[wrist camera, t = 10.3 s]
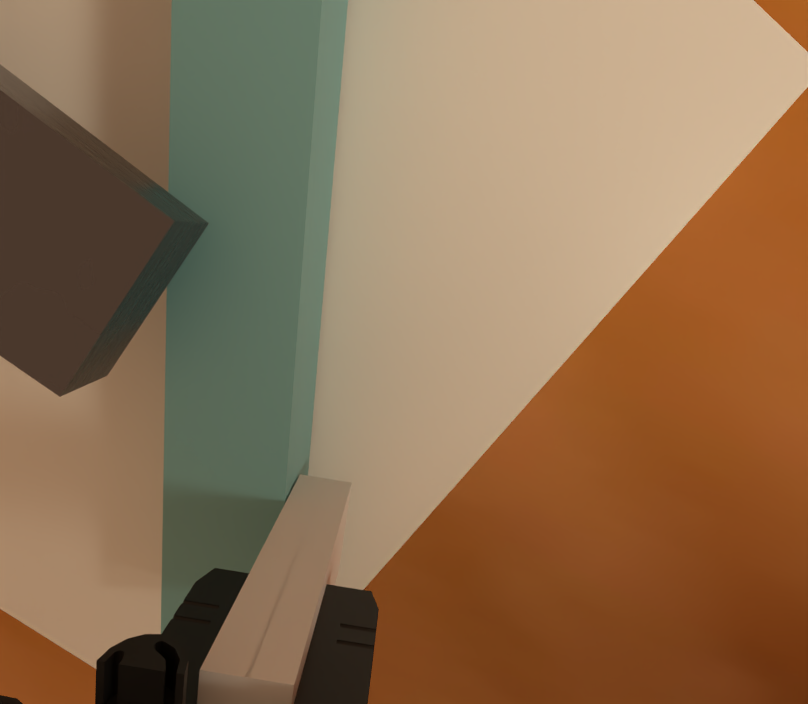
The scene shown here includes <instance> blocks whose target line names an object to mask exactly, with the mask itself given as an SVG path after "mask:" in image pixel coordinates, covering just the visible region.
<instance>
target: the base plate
mask: <svg viewBox="0 0 808 704" xmlns="http://www.w3.org/2000/svg"><path fill="white" fill-rule="evenodd" d="M171 7H172V0H0V64H1V65H2V66H3V67H5V68H6V69H7V70H8V71H10V72H11V73H12V74H14V75H15V76H16V77H18V78H19V79H20V80H22V81H23V82H24V83H26V84H27V85H28V86H29V87H31V88H32V89H33V90H35V91H36V92H37V93H39V94H40V95H41V96H43V97H44V98H45V99H47V100H48V101H49V102H50V103H52V104H53V105H54V106H56V107H57V108H58V109H60V110H61V111H62V112H64V113H65V114H66V115H68V116H69V117H70V118H71V119H73V120H74V121H75V122H77V123H78V124H79V125H81V126H82V127H83V128H85V129H86V130H87V131H89V132H90V133H91V134H92V135H94V136H95V137H96V138H98V139H99V140H100V141H102V142H103V143H104V144H106V145H107V146H108V147H110V148H111V149H112V150H114V151H115V152H116V153H117V154H119V155H120V156H121V157H123V158H124V159H125V160H127V161H128V162H129V163H131V164H132V165H133V166H135V167H136V168H137V169H138V170H140V171H141V172H142V173H144V174H145V175H146V176H148V177H149V178H150V179H152V180H153V181H154V182H156V183H157V184H158V185H159V186H161V187H162V188H163V189H165V190H166V191H167V192H168V182H169V124H170V65H171ZM807 87H808V52H807V51H806V50H805V49H804V48H803V47H802V46H801V45H800V44H799V43H798V42H797V41H795V40H794V39H793V38H792V37H791V36H790V35H789V34H788V33H787V32H786V31H785V30H784V29H783V28H782V27H781V26H780V25H779V24H778V23H777V22H776V21H774V20H773V19H772V18H771V17H770V16H769V15H768V14H767V13H766V12H765V11H764V10H763V9H762V8H761V7H760V6H759V5H758V4H757V3H756V2H755V1H754V0H348V7H347V19H346V30H345V42H344V54H343V66H342V78H341V90H340V102H339V113H338V125H337V137H336V149H335V161H334V173H333V185H332V196H331V208H330V220H329V232H328V244H327V256H326V267H325V279H324V291H323V303H322V315H321V327H320V339H319V350H318V362H317V374H316V386H315V398H314V410H313V422H312V433H311V445H310V457H309V469H308V476H313V477H319V478H326V479H332V480H338V481H344V482H351V483H352V485H351V492H350V499H349V505H348V512H347V519H346V526H345V533H344V539H343V546H342V553H341V560H340V567H339V572H338V576H337V579H336V583H335V586H341V587H347V588H354V589H360V590H364V588H365V587H366V586H367V585H368V584H369V583H370V582H371V581H372V579H373V578H374V577H375V576H376V575H377V574H378V573H379V571H380V570H381V569H382V568H383V567H384V566H385V565H386V564H387V562H388V561H389V560H390V559H391V558H392V557H393V556H394V554H395V553H396V552H397V551H398V550H399V549H400V548H401V547H402V545H403V544H404V543H405V542H406V541H407V540H408V539H409V538H410V536H411V535H412V534H413V533H414V532H415V531H416V530H417V528H418V527H419V526H420V525H421V524H422V523H423V522H424V521H425V519H426V518H427V517H428V516H429V515H430V514H431V513H432V511H433V510H434V509H435V508H436V507H437V506H438V505H439V504H440V502H441V501H442V500H443V499H444V498H445V497H446V496H447V494H448V493H449V492H450V491H451V490H452V489H453V488H454V487H455V485H456V484H457V483H458V482H459V481H460V480H461V479H462V478H463V476H464V475H465V474H466V473H467V472H468V471H469V470H470V468H471V467H472V466H473V465H474V464H475V463H476V462H477V461H478V459H479V458H480V457H481V456H482V455H483V454H484V453H485V451H486V450H487V449H488V448H489V447H490V446H491V445H492V444H493V442H494V441H495V440H496V439H497V438H498V437H499V436H500V434H501V433H502V432H503V431H504V430H505V429H506V428H507V427H508V425H509V424H510V423H511V422H512V421H513V420H514V419H515V418H516V416H517V415H518V414H519V413H520V412H521V411H522V410H523V408H524V407H525V406H526V405H527V404H528V403H529V402H530V401H531V399H532V398H533V397H534V396H535V395H536V394H537V393H538V391H539V390H540V389H541V388H542V387H543V386H544V385H545V384H546V382H547V381H548V380H549V379H550V378H551V377H552V376H553V374H554V373H555V372H556V371H557V370H558V369H559V368H560V367H561V365H562V364H563V363H564V362H565V361H566V360H567V359H568V358H569V356H570V355H571V354H572V353H573V352H574V351H575V350H576V348H577V347H578V346H579V345H580V344H581V343H582V342H583V341H584V339H585V338H586V337H587V336H588V335H589V334H590V333H591V331H592V330H593V329H594V328H595V327H596V326H597V325H598V324H599V322H600V321H601V320H602V319H603V318H604V317H605V316H606V314H607V313H608V312H609V311H610V310H611V309H612V308H613V307H614V305H615V304H616V303H617V302H618V301H619V300H620V299H621V298H622V296H623V295H624V294H625V293H626V292H627V291H628V290H629V288H630V287H631V286H632V285H633V284H634V283H635V282H636V281H637V279H638V278H639V277H640V276H641V275H642V274H643V273H644V271H645V270H646V269H647V268H648V267H649V266H650V265H651V264H652V262H653V261H654V260H655V259H656V258H657V257H658V256H659V254H660V253H661V252H662V251H663V250H664V249H665V248H666V247H667V245H668V244H669V243H670V242H671V241H672V240H673V239H674V238H675V236H676V235H677V234H678V233H679V232H680V231H681V230H682V228H683V227H684V226H685V225H686V224H687V223H688V222H689V221H690V219H691V218H692V217H693V216H694V215H695V214H696V213H697V211H698V210H699V209H700V208H701V207H702V206H703V205H704V204H705V202H706V201H707V200H708V199H709V198H710V197H711V196H712V194H713V193H714V192H715V191H716V190H717V189H718V188H719V187H720V185H721V184H722V183H723V182H724V181H725V180H726V179H727V178H728V176H729V175H730V174H731V173H732V172H733V171H734V170H735V168H736V167H737V166H738V165H739V164H740V163H741V162H742V161H743V159H744V158H745V157H746V156H747V155H748V154H749V153H750V151H751V150H752V149H753V148H754V147H755V146H756V145H757V144H758V142H759V141H760V140H761V139H762V138H763V137H764V136H765V134H766V133H767V132H768V131H769V130H770V129H771V128H772V127H773V125H774V124H775V123H776V122H777V121H778V120H779V119H780V118H781V116H782V115H783V114H784V113H785V112H786V111H787V110H788V108H789V107H790V106H791V105H792V104H793V103H794V102H795V101H796V99H797V98H798V97H799V96H800V95H801V94H802V93H803V91H804V90H805V89H806V88H807ZM166 298H167V287H166V289H165V290H164V292H163V293H162V295H161V296H160V298H159V299H158V301H157V302H156V304H155V305H154V307H153V308H152V310H151V311H150V313H149V314H148V316H147V317H146V319H145V320H144V322H143V323H142V325H141V326H140V328H139V329H138V331H137V332H136V334H135V335H134V337H133V338H132V340H131V341H130V343H129V344H128V346H127V347H126V349H125V350H124V352H123V353H122V355H121V356H120V358H119V359H118V361H117V362H116V364H115V365H114V367H113V368H112V370H111V371H110V372H109V374H108V375H107V376H105V377H103V378H101V379H99V380H96V381H94V382H92V383H90V384H88V385H85V386H83V387H81V388H79V389H76V390H74V391H72V392H70V393H67V394H65V395H63V396H61V397H59V396H58V395H56V394H55V393H53V392H52V391H51V390H49V389H48V388H46V387H45V386H43V385H42V384H40V383H39V382H38V381H36V380H35V379H33V378H32V377H30V376H29V375H27V374H26V373H24V372H23V371H22V370H20V369H19V368H17V367H16V366H14V365H13V364H11V363H10V362H9V361H7V360H6V359H4V358H3V357H1V356H0V609H1V610H3V611H4V612H6V613H8V614H9V615H11V616H12V617H14V618H15V619H17V620H19V621H20V622H22V623H23V624H25V625H27V626H28V627H30V628H31V629H33V630H35V631H36V632H38V633H39V634H41V635H43V636H44V637H46V638H47V639H49V640H51V641H52V642H54V643H55V644H57V645H59V646H60V647H62V648H63V649H65V650H66V651H68V652H70V653H71V654H73V655H74V656H76V657H78V658H79V659H81V660H82V661H84V662H86V663H87V664H89V665H90V666H92V667H94V668H95V669H96V662H97V660H98V659H99V658H100V657H101V656H102V655H103V654H104V653H105V652H106V651H107V650H108V649H109V648H111V647H112V646H114V645H116V644H118V643H120V642H122V641H124V640H125V639H128V638H132V637H136V636H139V635H143V634H161V588H162V530H163V472H164V414H165V356H166Z"/></svg>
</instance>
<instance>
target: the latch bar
mask: <svg viewBox="0 0 808 704" xmlns="http://www.w3.org/2000/svg"><path fill="white" fill-rule="evenodd" d="M347 7H348V0H172V7H171V65H170V124H169V182H168V192H169V193H170V194H171V195H173V196H174V197H175V198H177V199H178V200H179V201H180V202H182V203H183V204H184V205H186V206H187V207H188V208H190V209H191V210H192V211H194V212H195V213H196V214H198V215H199V216H200V217H201V218H203V219H204V220H205V221H207V222H208V223H209V224H208V226H207V227H206V229H205V230H204V232H203V233H202V235H201V236H200V238H199V239H198V241H197V242H196V244H195V245H194V247H193V248H192V250H191V251H190V253H189V254H188V256H187V257H186V259H185V260H184V262H183V263H182V265H181V266H180V268H179V269H178V271H177V272H176V274H175V275H174V277H173V278H172V280H171V281H170V283H169V284H168V286H167V298H166V356H165V414H164V472H163V530H162V588H161V634H162V632H163V631H164V629H165V628H166V626H167V625H168V623H169V622H170V620H171V619H173V617H174V614H175V612H176V611H177V609H178V608H179V606H180V605H181V603H182V604H183V601H184V599H185V597H186V596H187V594H188V593H189V591H190V590H191V588H192V586H193V585H194V583H195V582H196V581H197V580H199V579H200V578H202V577H203V576H204V575H206V574H207V573H208V572H210V571H211V570H213V569H214V568H219V569H225V570H232V571H238V572H244V573H250V571H251V569H252V567H253V565H254V563H255V561H256V559H257V557H258V555H259V553H260V551H261V549H262V548H263V546H264V544H265V542H266V540H267V538H268V536H269V534H270V532H271V530H272V528H273V526H274V524H275V522H276V520H277V518H278V516H279V514H280V512H281V511H282V509H283V507H284V505H285V503H286V501H287V499H288V497H289V495H290V493H291V491H292V489H293V487H294V485H295V483H296V481H297V479H298V477H299V475H300V474H301V475H307V476H308V469H309V457H310V445H311V433H312V422H313V410H314V398H315V386H316V374H317V362H318V350H319V339H320V327H321V315H322V303H323V291H324V279H325V267H326V256H327V244H328V232H329V220H330V208H331V196H332V185H333V173H334V161H335V149H336V137H337V125H338V113H339V102H340V90H341V78H342V66H343V54H344V42H345V30H346V19H347Z"/></svg>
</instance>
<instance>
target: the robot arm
mask: <svg viewBox="0 0 808 704" xmlns="http://www.w3.org/2000/svg"><path fill="white" fill-rule="evenodd" d="M351 485H352V483H351V482H344V481H338V480H332V479H326V478H319V477H313V476H307V475H301V474H300V475H299V477H298V479H297V481H296V483H295V485H294V487H293V489H292V491H291V493H290V495H289V497H288V499H287V501H286V503H285V505H284V507H283V509H282V511H281V512H280V514H279V516H278V518H277V520H276V522H275V524H274V526H273V528H272V530H271V532H270V534H269V536H268V538H267V540H266V542H265V544H264V546H263V548H262V549H261V551H260V553H259V555H258V557H257V559H256V561H255V563H254V565H253V567H252V569H251V571H250V573H244V572H238V571H232V570H225V569H219V568H214V569H213V570H211V571H210V572H208V573H207V574H206V575H204V576H203V577H202V578H200V579H199V580H197V581H196V582H195V583H194V585H193V586H192V588H191V590H190V591H189V593H188V594H187V596H186V597H185V599H184V601H183V604H182V603H181V605H180V606H179V608H178V609H177V611H176V612H175V614H174V617H173V619H171V620H170V622H169V623H168V625H167V626H166V628H165V629H164V631H163V632H162V634H143V635H139V636H136V637H132V638H128V639H125V640H124V641H122V642H120V643H118V644H116V645H114V646H112V647H111V648H109V649H108V650H107V651H106V652H105V653H104V654H103V655H102V656H101V657H100V658H99V659H98V660H97V662H96V699H95V704H367V703H368V695H369V686H370V678H371V669H372V661H373V652H374V644H375V635H376V627H377V619H378V610H379V609H378V607H377V604H376V602H375V599H374V597H373V595H372V592H371V591H366V590H360V589H354V588H347V587H341V586H335V583H336V579H337V576H338V572H339V567H340V560H341V553H342V546H343V539H344V533H345V526H346V519H347V512H348V505H349V499H350V492H351ZM0 704H22V703H21V702H20V701H19V700H18V699H16V698H11V697H6V696H1V695H0Z"/></svg>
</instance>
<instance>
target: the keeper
mask: <svg viewBox="0 0 808 704" xmlns="http://www.w3.org/2000/svg"><path fill="white" fill-rule="evenodd" d="M208 224H209V223H208V222H207V221H205V220H204V219H203V218H201V217H200V216H199V215H198V214H196V213H195V212H194V211H192V210H191V209H190V208H188V207H187V206H186V205H184V204H183V203H182V202H180V201H179V200H178V199H177V198H175V197H174V196H173V195H171V194H170V193H169V192H167V191H166V190H165V189H163V188H162V187H161V186H159V185H158V184H157V183H156V182H154V181H153V180H152V179H150V178H149V177H148V176H146V175H145V174H144V173H142V172H141V171H140V170H138V169H137V168H136V167H135V166H133V165H132V164H131V163H129V162H128V161H127V160H125V159H124V158H123V157H121V156H120V155H119V154H117V153H116V152H115V151H114V150H112V149H111V148H110V147H108V146H107V145H106V144H104V143H103V142H102V141H100V140H99V139H98V138H96V137H95V136H94V135H92V134H91V133H90V132H89V131H87V130H86V129H85V128H83V127H82V126H81V125H79V124H78V123H77V122H75V121H74V120H73V119H71V118H70V117H69V116H68V115H66V114H65V113H64V112H62V111H61V110H60V109H58V108H57V107H56V106H54V105H53V104H52V103H50V102H49V101H48V100H47V99H45V98H44V97H43V96H41V95H40V94H39V93H37V92H36V91H35V90H33V89H32V88H31V87H29V86H28V85H27V84H26V83H24V82H23V81H22V80H20V79H19V78H18V77H16V76H15V75H14V74H12V73H11V72H10V71H8V70H7V69H6V68H5V67H3V66H2V65H1V64H0V356H1V357H3V358H4V359H6V360H7V361H9V362H10V363H11V364H13V365H14V366H16V367H17V368H19V369H20V370H22V371H23V372H24V373H26V374H27V375H29V376H30V377H32V378H33V379H35V380H36V381H38V382H39V383H40V384H42V385H43V386H45V387H46V388H48V389H49V390H51V391H52V392H53V393H55V394H56V395H58V396H59V397H61V396H63V395H65V394H67V393H70V392H72V391H74V390H76V389H79V388H81V387H83V386H85V385H88V384H90V383H92V382H94V381H96V380H99V379H101V378H103V377H105V376H107V375H108V374H109V372H110V371H111V370H112V368H113V367H114V365H115V364H116V362H117V361H118V359H119V358H120V356H121V355H122V353H123V352H124V350H125V349H126V347H127V346H128V344H129V343H130V341H131V340H132V338H133V337H134V335H135V334H136V332H137V331H138V329H139V328H140V326H141V325H142V323H143V322H144V320H145V319H146V317H147V316H148V314H149V313H150V311H151V310H152V308H153V307H154V305H155V304H156V302H157V301H158V299H159V298H160V296H161V295H162V293H163V292H164V290H165V289H166V287H167V286H168V284H169V283H170V281H171V280H172V278H173V277H174V275H175V274H176V272H177V271H178V269H179V268H180V266H181V265H182V263H183V262H184V260H185V259H186V257H187V256H188V254H189V253H190V251H191V250H192V248H193V247H194V245H195V244H196V242H197V241H198V239H199V238H200V236H201V235H202V233H203V232H204V230H205V229H206V227H207V226H208Z"/></svg>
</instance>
